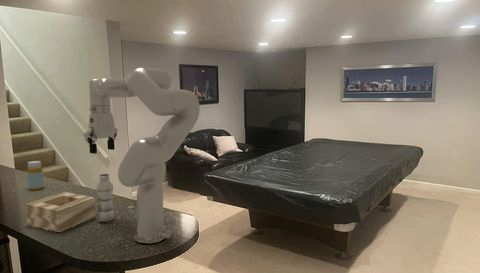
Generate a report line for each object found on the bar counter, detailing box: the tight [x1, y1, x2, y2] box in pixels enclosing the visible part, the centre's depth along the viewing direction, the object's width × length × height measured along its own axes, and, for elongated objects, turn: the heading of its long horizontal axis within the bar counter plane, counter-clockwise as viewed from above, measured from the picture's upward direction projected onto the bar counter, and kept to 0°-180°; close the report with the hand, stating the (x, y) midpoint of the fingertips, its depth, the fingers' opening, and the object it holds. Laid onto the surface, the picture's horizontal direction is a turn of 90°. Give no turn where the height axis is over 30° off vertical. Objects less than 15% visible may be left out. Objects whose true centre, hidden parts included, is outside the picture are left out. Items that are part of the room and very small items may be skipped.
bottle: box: [27, 160, 44, 191], centre depth 185 cm, size 7×7×15 cm
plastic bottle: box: [95, 173, 115, 223], centre depth 143 cm, size 6×7×20 cm
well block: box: [25, 191, 96, 233], centre depth 142 cm, size 18×18×9 cm
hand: (102, 151), depth 140 cm, fingers open, 9 cm apart
